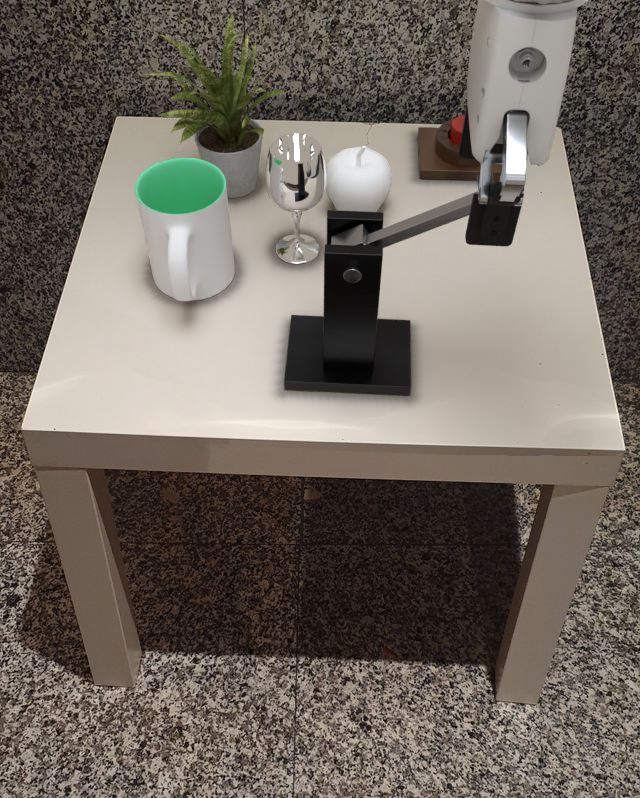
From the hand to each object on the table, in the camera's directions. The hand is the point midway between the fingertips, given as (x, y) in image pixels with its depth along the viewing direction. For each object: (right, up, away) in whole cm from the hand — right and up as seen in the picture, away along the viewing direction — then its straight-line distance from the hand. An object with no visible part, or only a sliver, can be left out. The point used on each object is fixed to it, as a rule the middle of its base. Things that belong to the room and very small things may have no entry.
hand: (483, 197), depth 61 cm
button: (+4, +14, +31) cm, 34 cm away
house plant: (-22, +10, +31) cm, 39 cm away
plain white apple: (-8, +5, +28) cm, 29 cm away
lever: (-4, -2, +3) cm, 6 cm away
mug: (-24, -4, +21) cm, 32 cm away
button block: (+4, +12, +33) cm, 36 cm away
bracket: (-9, -11, +15) cm, 21 cm away
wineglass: (-14, 0, +24) cm, 28 cm away
